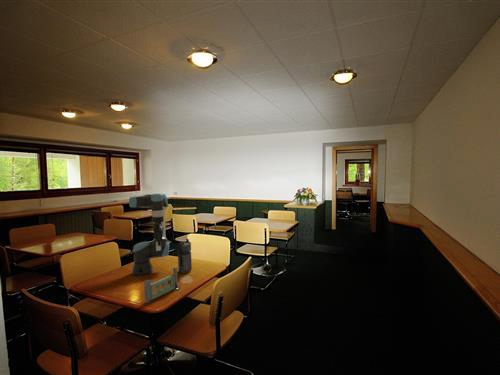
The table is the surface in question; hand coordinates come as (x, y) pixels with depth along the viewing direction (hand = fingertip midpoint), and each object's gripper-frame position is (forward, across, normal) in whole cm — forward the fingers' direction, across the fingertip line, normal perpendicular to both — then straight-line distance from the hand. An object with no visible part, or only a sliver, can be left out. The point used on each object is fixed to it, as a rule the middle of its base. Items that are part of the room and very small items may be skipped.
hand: (158, 250), depth 170 cm
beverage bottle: (+25, -10, +24) cm, 36 cm away
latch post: (+24, +18, -15) cm, 34 cm away
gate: (+23, +16, -5) cm, 29 cm away
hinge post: (+24, +13, +5) cm, 28 cm away
